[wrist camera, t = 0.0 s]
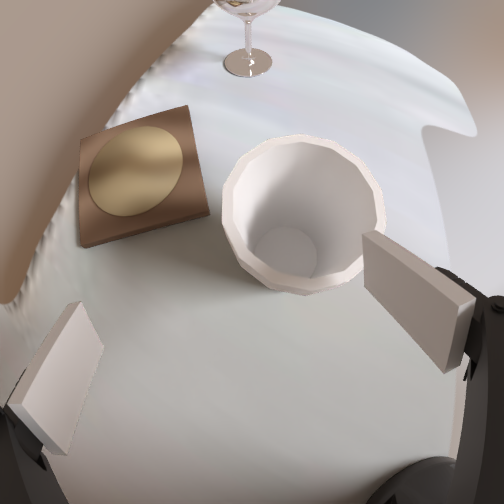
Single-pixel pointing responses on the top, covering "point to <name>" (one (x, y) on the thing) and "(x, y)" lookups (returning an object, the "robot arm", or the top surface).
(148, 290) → the top surface
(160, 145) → the stand board
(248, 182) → the foam cup
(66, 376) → the robot arm
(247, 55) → the wineglass
